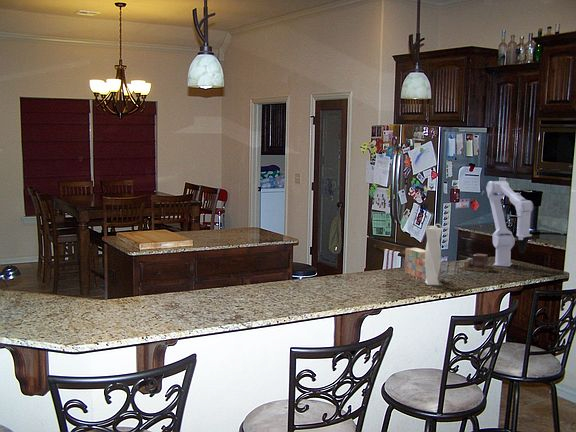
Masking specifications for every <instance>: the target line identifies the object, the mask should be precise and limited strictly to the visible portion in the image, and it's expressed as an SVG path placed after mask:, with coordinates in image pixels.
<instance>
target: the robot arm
mask: <svg viewBox="0 0 576 432" xmlns="http://www.w3.org/2000/svg"><path fill="white" fill-rule="evenodd" d="M485 189H486V194H487V198H488V199H489V204H490V207H491V213H492V218H493V222H494V227H495V231H494V232H493V233H492V245H493V247H494V248H495V259H494V261H495V262H494V263H493V264H492V265H493V266H495V267H496V266H498V267H509V268H510V267H511V265H513V262H511V253H512V252H511V250H512V249H513V247H514V246H515V243H516V242H517V243H516V244H517V246H518V251H519V254H524V253H525V252H526V249H527V245H528V242H529V241H530V237H532V236H533V234H531V233H530V230H531V229H530V227H531V225H530V224H531V213H532V212H533V210H534V203H533V201H532V200H528V199H526V198H525V197H523V196H522V195H521V193H520V192H515V191H514V190H513V189H512V188H511V187H510V183H509V182H508V181H506V180H501V181H500V180H495V181H494V180H493V181H492V180H490V181H488V182H487V184H486V187H485ZM505 196H506V197H508V198H509V199H508V200H509V202H510V203H511V204H512V205H513V206H514V207H515V210H516V216H517V222H516V223H517V224H516V225H517V226H516V234H515V235H516V238H515V237H514V235H513V232H512V231H511V230H509V229H508V227H507V225H506V224H507V223H506V219H505V215H504V210H503V206H502V205H503V204H502V202H501V200H502V199H504V198H505ZM515 241H516V242H515Z"/></svg>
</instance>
